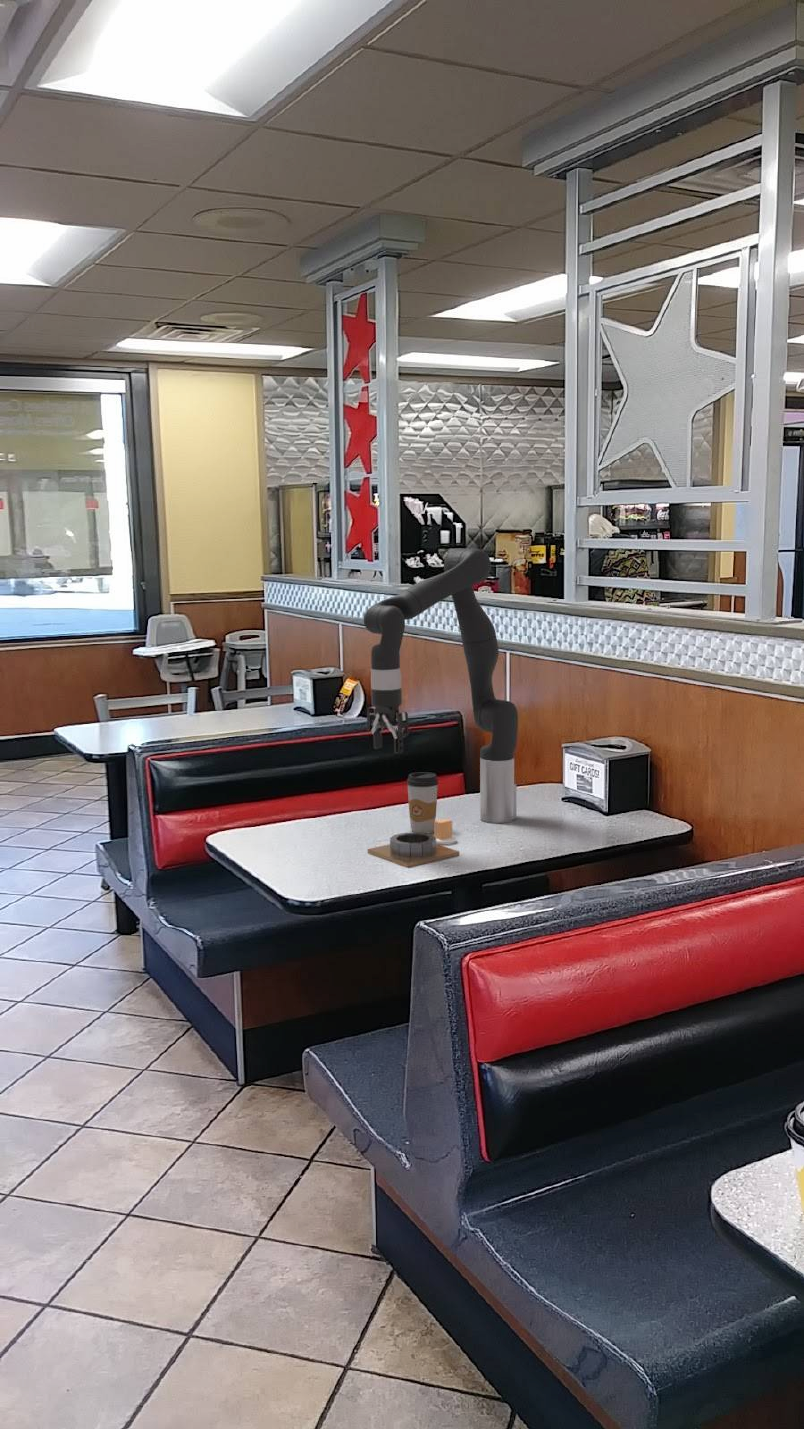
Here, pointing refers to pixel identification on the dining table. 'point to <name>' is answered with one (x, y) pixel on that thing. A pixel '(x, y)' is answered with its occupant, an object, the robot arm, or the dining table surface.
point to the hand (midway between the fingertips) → (388, 750)
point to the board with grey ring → (413, 849)
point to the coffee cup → (422, 801)
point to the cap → (444, 832)
